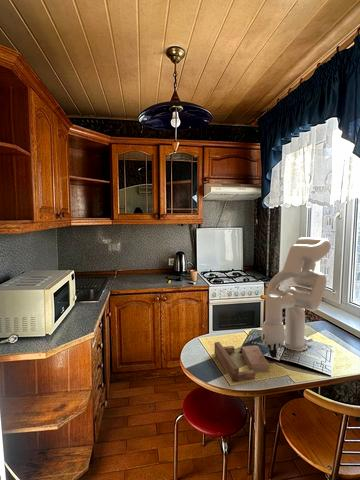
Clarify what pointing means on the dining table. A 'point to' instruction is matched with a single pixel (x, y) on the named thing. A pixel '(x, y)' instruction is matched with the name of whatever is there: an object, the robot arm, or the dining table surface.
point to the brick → (255, 359)
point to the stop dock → (231, 364)
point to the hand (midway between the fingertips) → (272, 356)
